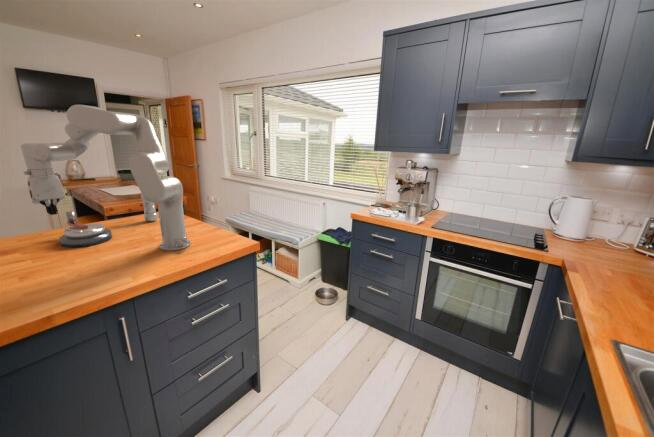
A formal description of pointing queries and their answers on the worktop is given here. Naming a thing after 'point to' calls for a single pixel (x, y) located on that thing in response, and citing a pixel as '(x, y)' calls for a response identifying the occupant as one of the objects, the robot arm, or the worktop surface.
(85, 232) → the crank handle wheel
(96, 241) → the gray plate
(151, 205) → the plastic bottle
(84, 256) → the worktop surface
